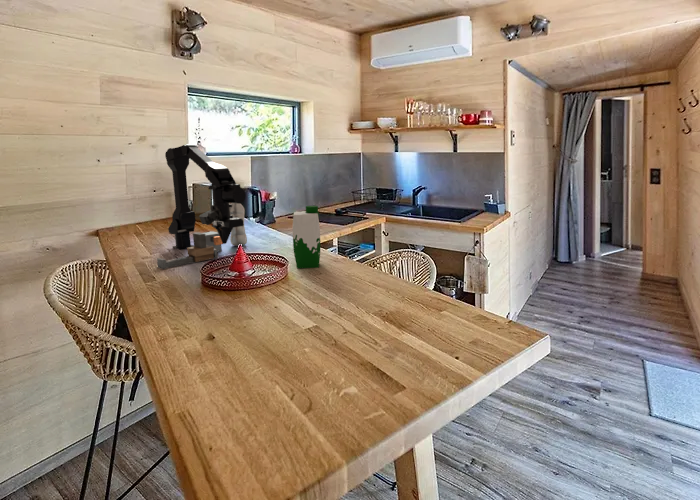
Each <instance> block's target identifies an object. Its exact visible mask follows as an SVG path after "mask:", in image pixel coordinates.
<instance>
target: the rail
mask: <svg viewBox="0 0 700 500" xmlns="http://www.w3.org/2000/svg"><path fill="white" fill-rule="evenodd" d="M213 254H214V258H213V259H218V258H219V257H218V251H217V249H214V253H213ZM192 263H193V264H194V263H196V262H195V258H194V256H183V257H179V258H173V259H168V260H166V259H165V258H163V257H158V258H156V264H157V268H158V269H161V270H167V269H168V268H169V269H170V268H175V267H178V266H182V265H183V266H184V265H188V264H192Z"/></svg>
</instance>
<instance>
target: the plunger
mask: <svg viewBox="0 0 700 500" xmlns="http://www.w3.org/2000/svg"><path fill="white" fill-rule="evenodd" d="M210 239H211V241H212V242H214V245H221V246H222V245H223V243H222V240H221V238H220V236H217V237H210Z"/></svg>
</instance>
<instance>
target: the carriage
mask: <svg viewBox="0 0 700 500" xmlns="http://www.w3.org/2000/svg"><path fill="white" fill-rule="evenodd" d="M203 233H204V232H198V231H197V232H193V233H192V239H193V245H194V247H189V248H186V250H187V252H186V253H187V255H188V256H194V258H195V262H194V263H197V262H198V263H199V262H204V261H207V260H212V259H215V258H214V254H213V253H214V247H213V246H208V245H206V237H205V234H203Z"/></svg>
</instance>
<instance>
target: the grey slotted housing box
mask: <svg viewBox="0 0 700 500" xmlns="http://www.w3.org/2000/svg"><path fill="white" fill-rule="evenodd" d="M202 233H203V234H205V237H206V245H208V246H213V247H214V249H217V252H222V251H223V249H222V244H221V245H214V242H212V241H211V239H210V237H217V236H219V233H218V231H208V232H207V231H206V232H202Z"/></svg>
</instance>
